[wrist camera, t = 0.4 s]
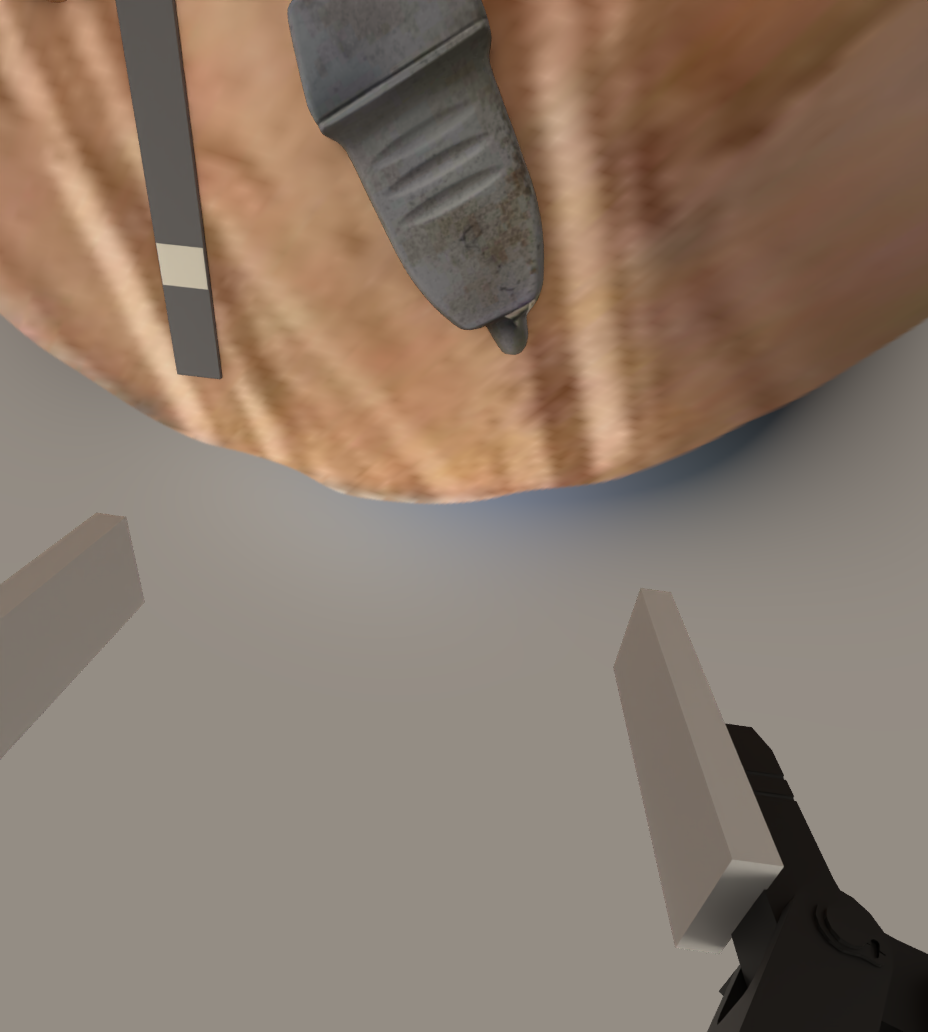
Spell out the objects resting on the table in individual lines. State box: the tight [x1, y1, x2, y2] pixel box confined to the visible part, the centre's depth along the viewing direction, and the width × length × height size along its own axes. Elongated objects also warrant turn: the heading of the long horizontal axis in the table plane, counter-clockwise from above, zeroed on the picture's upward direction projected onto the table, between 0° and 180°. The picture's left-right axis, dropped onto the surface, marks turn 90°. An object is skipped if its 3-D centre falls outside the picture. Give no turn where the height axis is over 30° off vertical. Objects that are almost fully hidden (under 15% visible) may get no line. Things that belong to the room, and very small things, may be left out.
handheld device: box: [288, 0, 544, 355], centre depth 30 cm, size 10×20×5 cm, turn 26°
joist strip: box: [116, 0, 222, 379], centre depth 33 cm, size 20×3×1 cm, turn 175°
